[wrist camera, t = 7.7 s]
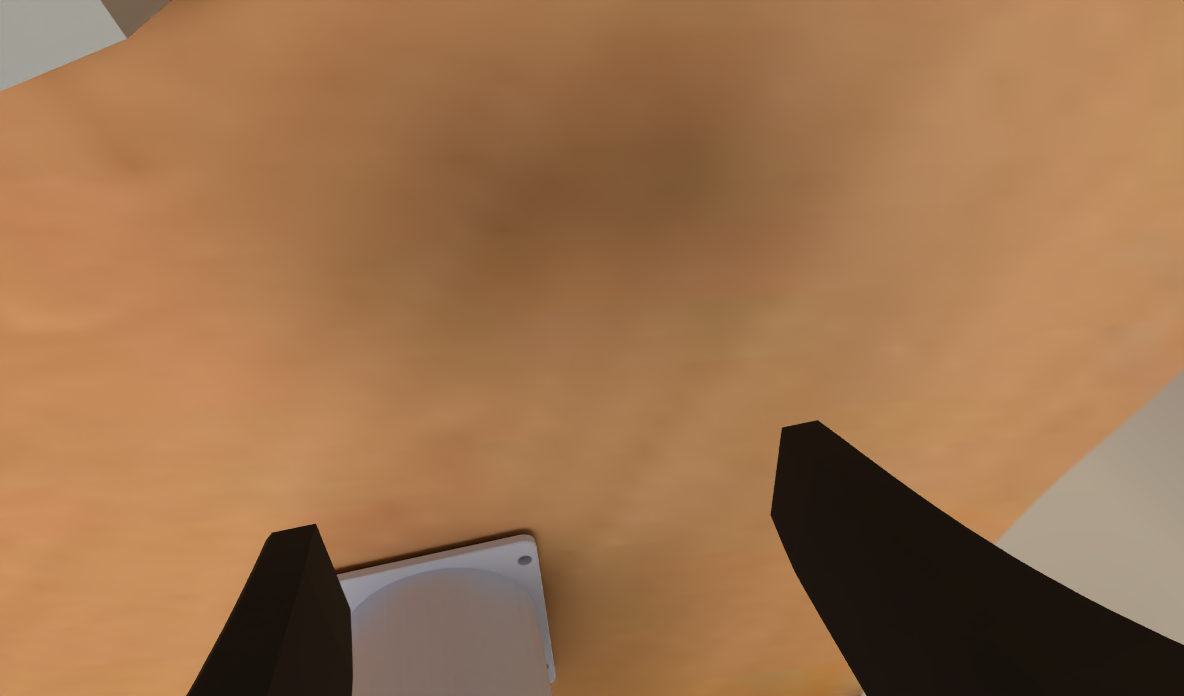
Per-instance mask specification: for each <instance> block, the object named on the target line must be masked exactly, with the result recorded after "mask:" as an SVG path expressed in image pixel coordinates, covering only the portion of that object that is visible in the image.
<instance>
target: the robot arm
mask: <svg viewBox="0 0 1184 696" xmlns="http://www.w3.org/2000/svg"><path fill="white" fill-rule="evenodd" d="M771 517H772V519H773V522H774V524H775V527H776V529H777V532H778V534H779V536H780V539H781V541H782V544H783V546H784V548H785V551H786V553H787V555H788V558H789V560H790V562H791V564H792V567H793V569H794V571H795V573H796V575H797V577H798V578H799V580H800V582H801V584H802V586H803V587H804V589H805V591H806V593H807V594H808V596H809V598H810V600H811V601H812V603H813V605H814V606H815V608H816V610H817V612H818V613H819V615H820V617H821V619H822V620H823V622H824V624H825V625H826V627H827V629H828V631H829V632H830V634H831V636H832V637H833V639H834V641H835V643H836V644H837V646H838V648H839V649H840V651H841V653H842V655H843V656H844V658H845V660H846V661H847V663H848V665H849V667H850V668H851V670H852V672H853V673H854V675H855V677H856V679H857V680H858V682H859V684H860V685H861V687H862V689H863V691H864V692H865V694H866V696H1184V645H1182V644H1180V643H1178V642H1176V641H1173V640H1171V639H1169V638H1167V637H1165V636H1163V635H1161V634H1159V633H1157V632H1155V631H1152V630H1150V629H1148V628H1146V627H1144V626H1142V625H1140V624H1138V623H1136V622H1134V621H1132V620H1130V619H1128V618H1125V617H1123V616H1121V615H1119V614H1117V613H1115V612H1113V611H1111V610H1109V609H1107V608H1105V607H1103V606H1101V605H1099V604H1097V603H1096V602H1094V601H1091V600H1090V599H1088V598H1086V597H1084V596H1082V595H1080V594H1078V593H1076V592H1074V591H1073V590H1071V589H1069V588H1067V587H1066V586H1064V585H1062V584H1060V583H1058V582H1057V581H1055V580H1053V579H1051V578H1049V577H1047V576H1046V575H1044V574H1042V573H1040V572H1039V571H1037V570H1035V569H1033V568H1031V567H1030V566H1028V565H1026V564H1025V563H1023V562H1021V561H1020V560H1018V559H1016V558H1015V557H1013V556H1011V555H1010V554H1008V553H1006V552H1005V551H1003V550H1002V549H1000V548H998V547H997V546H995V545H994V544H992V543H990V542H989V541H987V540H986V539H984V538H983V537H981V536H979V535H978V534H976V533H975V532H973V531H972V530H970V529H968V528H967V527H965V526H964V525H962V524H961V523H959V522H958V521H956V520H955V519H953V518H952V517H950V516H949V515H947V514H946V513H944V512H943V511H941V510H940V509H938V508H937V507H936V506H934V505H933V504H931V503H930V502H928V501H927V500H926V499H924V498H923V497H921V496H920V495H918V494H917V493H916V492H914V491H913V490H911V489H910V488H909V487H907V486H906V485H904V484H903V483H902V482H900V481H899V480H897V479H896V478H895V477H893V476H892V475H891V474H889V473H888V472H887V471H885V470H884V469H883V468H881V467H880V466H878V465H877V464H876V463H874V462H873V461H872V460H870V459H869V458H868V457H866V456H865V455H864V454H862V453H861V452H860V451H858V450H857V449H856V448H854V447H853V446H852V445H850V444H849V443H848V442H846V441H845V440H844V439H842V438H841V437H840V436H838V435H837V434H836V433H834V432H833V431H832V430H830V429H829V428H828V427H826V426H825V425H823V424H822V423H821V422H819V421H818V420H817V421H812V422H807V423H802V424H797V425H792V426H788V427H783V428H782V432H781V439H780V447H779V455H778V462H777V470H776V478H775V485H774V493H773V501H772V508H771ZM522 556H524V557H522ZM555 680H556V673H555V666H554V659H553V653H552V646H551V639H550V633H549V626H548V619H547V613H546V606H545V599H544V593H543V586H542V579H541V572H540V566H539V559H538V552H537V546H536V542H535V539H534V538H533V537H532V536H530V535H526V534H523V535H517V536H512V537H508V538H503V539H498V540H494V541H489V542H485V543H480V544H475V545H471V546H466V547H462V548H457V549H452V550H448V551H443V552H439V553H434V554H429V555H425V556H420V557H416V558H411V559H406V560H402V561H397V562H393V563H388V564H383V565H379V566H374V567H369V568H365V569H360V570H356V571H351V572H346V573H342V574H337V575H336V572H335V570H334V567H333V565H332V562H331V560H330V557H329V555H328V552H327V550H326V548H325V545H324V543H323V540H322V538H321V535H320V533H319V530H318V528H317V525H316V524H312V525H307V526H302V527H297V528H293V529H288V530H283V531H278V532H273V533H272V534H271V535H270V536H269V537H268V538H267V540H266V542H265V544H264V546H263V548H262V550H261V553H260V555H259V557H258V559H257V561H256V563H255V565H254V568H253V570H252V572H251V574H250V576H249V578H248V580H247V582H246V584H245V586H244V588H243V590H242V592H241V594H240V597H239V599H238V600H237V602H236V604H235V606H234V608H233V610H232V612H231V614H230V616H229V618H228V620H227V622H226V624H225V626H224V628H223V630H222V632H221V634H220V635H219V637H218V639H217V641H216V643H215V645H214V647H213V648H212V650H211V652H210V654H209V656H208V658H207V660H206V661H205V663H204V665H203V667H202V669H201V671H200V672H199V674H198V676H197V678H196V680H195V682H194V683H193V685H192V687H191V689H190V690H189V692H188V694H187V695H186V696H553V695H552V690H551V685H550V684H552V683H553V682H554V681H555Z"/></svg>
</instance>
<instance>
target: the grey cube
mask: <svg viewBox="0 0 1184 696" xmlns="http://www.w3.org/2000/svg"><path fill="white" fill-rule="evenodd" d="M170 1H171V0H0V91H2V90H5V89H7V88H10V87H12V86H14V85H17V84H19V83H22V82H24V81H26V80H29V79H31V78H34V77H36V76H38V75H41V74H43V73H46V72H48V71H50V70H53V69H55V68H58V67H60V66H62V65H65V64H67V63H70V62H72V61H74V60H77V59H79V58H82V57H84V56H87V55H89V54H91V53H94V52H96V51H99V50H101V49H103V48H106V47H108V46H111V45H113V44H115V43H118V42H120V41H123V40H125V39H127V38H128V37H130V36H131V35H132V34H133V33H134V32H135V31H136V30H138V29H139V28H140V27H141V26H142V25H143V24H144V23H146V22H147V21H148V20H149V19H150V18H151V17H153V16H154V15H155V14H156V13H157V12H158V11H159V10H161V9H162V8H163V7H164V6H165V5H166V4H167V3H169V2H170Z"/></svg>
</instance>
